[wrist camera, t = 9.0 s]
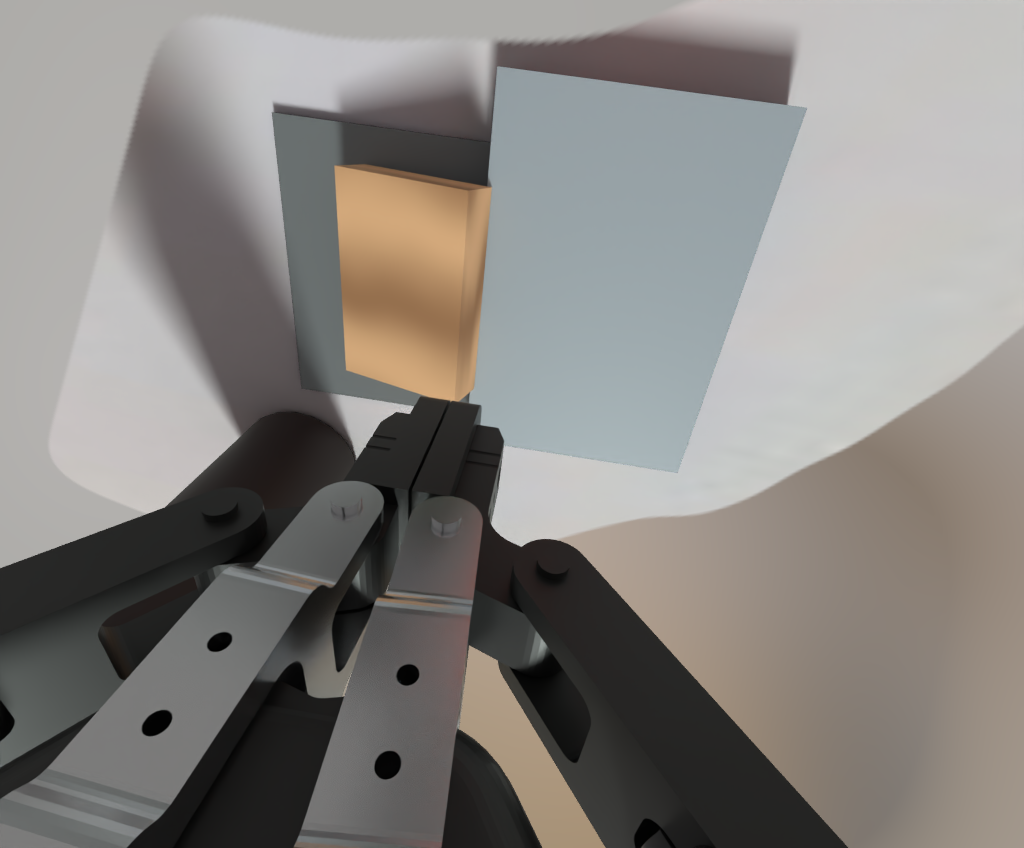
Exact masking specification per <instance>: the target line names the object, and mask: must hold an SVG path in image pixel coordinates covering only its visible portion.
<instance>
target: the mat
mask: <svg viewBox="0 0 1024 848" xmlns="http://www.w3.org/2000/svg"><path fill="white" fill-rule="evenodd" d="M272 118H273V127H274V136H275V146H276V155H277V164H278V173H279V182H280V192H281V201H282V210H283V219H284V229H285V238H286V247H287V256H288V266H289V275H290V284H291V293H292V303H293V312H294V321H295V330H296V339H297V349H298V358H299V367H300V376H301V386H302V388H303V389H309V390H316V391H322V392H328V393H335V394H341V395H347V396H354V397H360V398H366V399H373V400H379V401H385V402H392V403H398V404H404V405H411V406H415V404H416V403H417V401H418V399H419V397H420V396H424V395H421V394H418V393H415V392H412V391H409V390H406V389H403V388H400V387H396V386H393V385H390V384H387V383H384V382H381V381H378V380H375V379H372V378H369V377H366V376H363V375H360V374H356V373H353V372H350V371H347V370H346V360H345V343H344V325H343V308H342V290H341V273H340V255H339V238H338V220H337V202H336V185H335V167H334V166H335V165H359V164H367V165H373V166H378V167H384V168H389V169H395V170H400V171H405V172H411V173H416V174H422V175H427V176H433V177H438V178H444V179H449V180H454V181H460V182H465V183H471V184H476V185H482V186H487V183H488V171H489V159H490V147H491V143H490V142H483V141H475V140H468V139H461V138H454V137H447V136H440V135H432V134H425V133H418V132H411V131H404V130H397V129H389V128H382V127H375V126H368V125H361V124H354V123H346V122H339V121H332V120H325V119H318V118H311V117H303V116H296V115H289V114H282V113H273V112H272ZM425 397H427V396H425ZM469 397H470V392H469V393H468V394H467V395H466V396H465V397H463V398H462V399H461V400H460V401H459V402H465V403H469Z"/></svg>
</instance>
